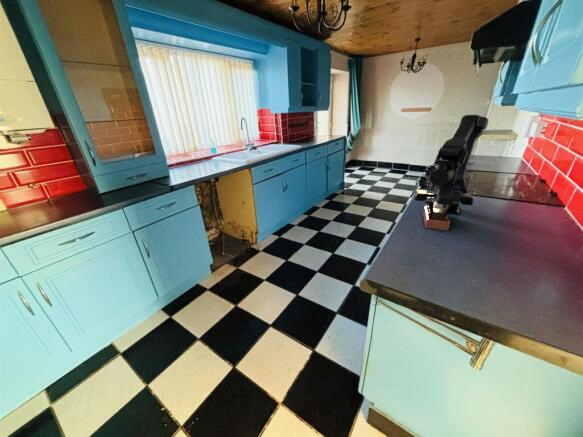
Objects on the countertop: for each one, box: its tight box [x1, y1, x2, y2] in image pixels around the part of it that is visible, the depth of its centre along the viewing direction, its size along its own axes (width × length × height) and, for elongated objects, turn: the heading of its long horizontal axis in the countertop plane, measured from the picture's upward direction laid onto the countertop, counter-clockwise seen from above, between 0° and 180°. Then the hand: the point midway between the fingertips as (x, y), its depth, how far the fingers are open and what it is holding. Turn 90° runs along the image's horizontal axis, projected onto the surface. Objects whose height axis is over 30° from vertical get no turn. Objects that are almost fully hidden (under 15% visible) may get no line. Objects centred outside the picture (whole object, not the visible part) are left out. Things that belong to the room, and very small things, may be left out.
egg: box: [429, 201, 443, 212], centre depth 99 cm, size 5×5×7 cm
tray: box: [422, 205, 451, 231], centre depth 97 cm, size 8×15×4 cm, turn 156°
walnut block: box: [431, 208, 446, 221], centre depth 93 cm, size 4×4×4 cm
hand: (437, 217), depth 94 cm, fingers closed on walnut block, 4 cm apart
